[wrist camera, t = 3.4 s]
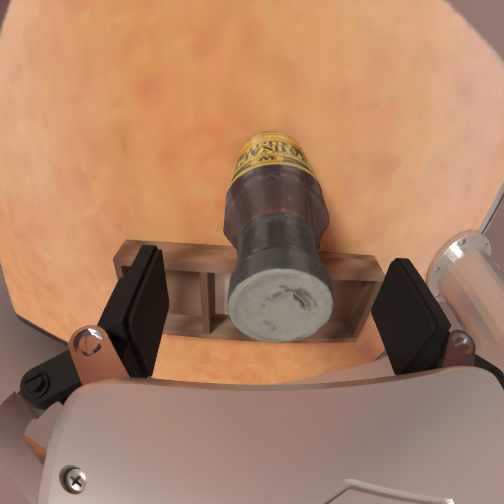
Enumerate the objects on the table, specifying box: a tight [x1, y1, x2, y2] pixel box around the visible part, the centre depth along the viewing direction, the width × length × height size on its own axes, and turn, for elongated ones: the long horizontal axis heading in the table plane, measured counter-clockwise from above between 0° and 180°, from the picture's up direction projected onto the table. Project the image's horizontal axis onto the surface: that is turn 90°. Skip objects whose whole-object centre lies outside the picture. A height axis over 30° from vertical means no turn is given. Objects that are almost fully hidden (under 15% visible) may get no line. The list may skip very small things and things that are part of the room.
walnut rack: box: [113, 240, 385, 343], centre depth 34 cm, size 30×12×4 cm, turn 86°
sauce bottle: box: [223, 132, 334, 343], centre depth 18 cm, size 7×6×20 cm
